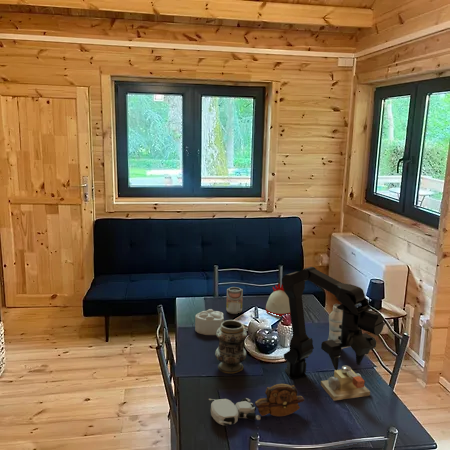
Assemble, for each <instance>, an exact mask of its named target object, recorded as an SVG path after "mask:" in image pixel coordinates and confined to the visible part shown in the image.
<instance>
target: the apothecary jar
mask: <svg viewBox="0 0 450 450" xmlns="http://www.w3.org/2000/svg"><path fill="white" fill-rule="evenodd" d="M247 332H248V331H247V330H246V329H245V327H244V325H243V323H242V322H241V321H238V320H235V319H227V320H224V322H222V323H221V327H220V328H219V329H218V330H217V332H216V335H215V336H216V337H217V339H218V341H219V342H218V347H217V348H216V350H215V353H214V355H215V358H216V359H217V360H218V361H219V362H220V363H218V365H217V368H218V370H219V371H220V372H222V373H223V374H232V375H233V374H237V373H240V372H242V371H243V370H244V365H243V362H244V361H245V359H246V358H247V351H246V349H245V348H244V343H245V340H246V339H247V337H248V333H247Z"/></svg>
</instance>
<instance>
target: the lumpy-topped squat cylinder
mask: <svg viewBox="0 0 450 450" xmlns="http://www.w3.org/2000/svg"><path fill="white" fill-rule="evenodd" d="M224 317H225V316H224V313H223V312H222V311H219V310H214V309H212V308H209V309H207V310H202V311H200V312H198V313H196V314H195V319H194V320H195V321H194V322H195V323H194V324H195V326H194V328H195V329H194V330H195V332H197V333H198V334H201V335H205V336H217V335H216V332H217V330H218V329H219V328H220V327H221V323H222V322H224V321H225V318H224Z"/></svg>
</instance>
